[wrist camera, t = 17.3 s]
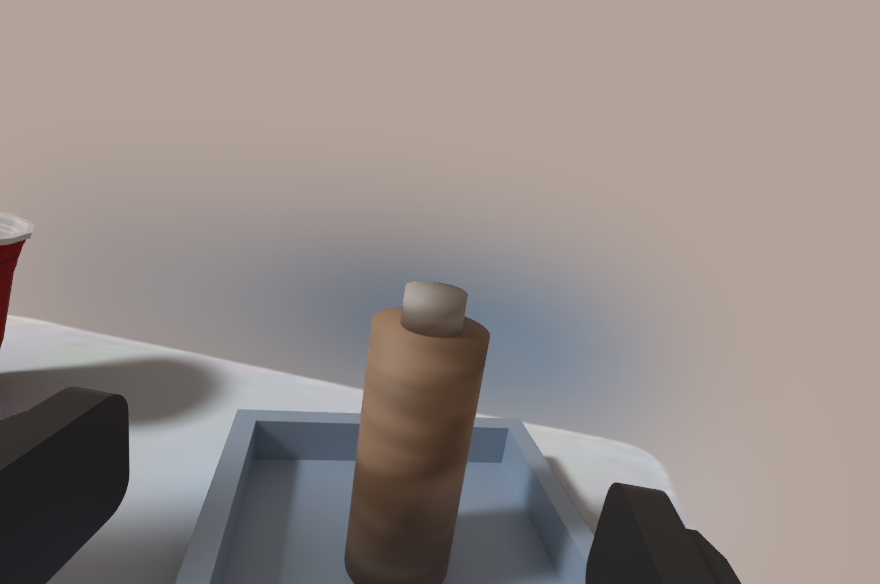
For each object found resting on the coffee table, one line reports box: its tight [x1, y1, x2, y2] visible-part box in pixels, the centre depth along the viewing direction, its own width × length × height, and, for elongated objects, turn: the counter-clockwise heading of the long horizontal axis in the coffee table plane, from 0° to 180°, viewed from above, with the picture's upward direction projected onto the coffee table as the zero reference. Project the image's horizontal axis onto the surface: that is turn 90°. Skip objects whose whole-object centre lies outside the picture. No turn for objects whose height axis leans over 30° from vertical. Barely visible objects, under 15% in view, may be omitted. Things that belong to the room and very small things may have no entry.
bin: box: [175, 409, 594, 584], centre depth 25 cm, size 18×18×3 cm
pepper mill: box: [344, 281, 490, 584], centre depth 23 cm, size 5×5×14 cm
